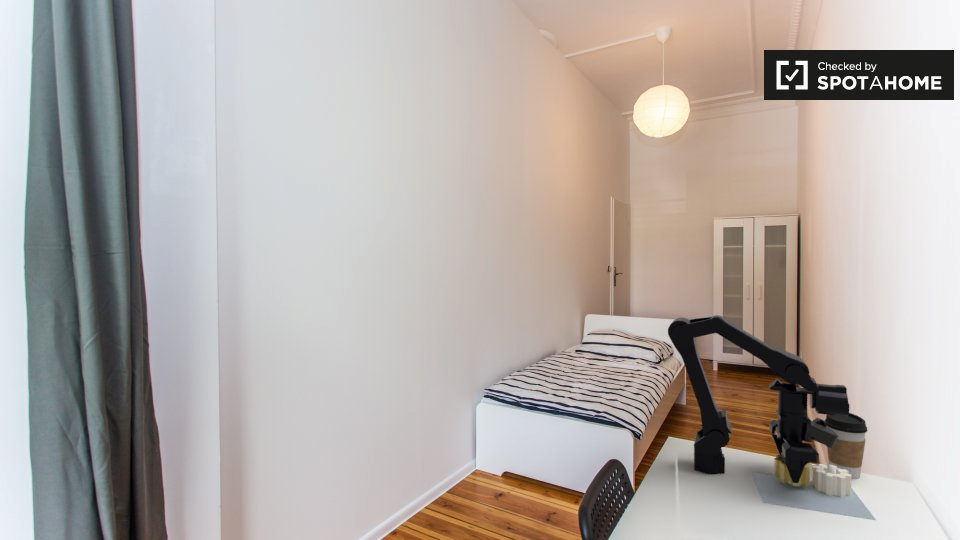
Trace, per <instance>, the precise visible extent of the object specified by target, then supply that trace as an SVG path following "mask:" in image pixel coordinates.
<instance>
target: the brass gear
mask: <svg viewBox="0 0 960 540" xmlns="http://www.w3.org/2000/svg"><path fill="white" fill-rule="evenodd" d="M773 462H774V463H773V467H774V469H773V471H774V472H773V475H774V477H775V478H779V479H780V482H782V483H788V484H792V485H793V486H798V485H804V486H808V485H809V483H810V480H811V463H808V464H806V465H805V467H804V470H803V472H802V475H801V477H800V480H799V483H793V482H792V479H791V477H790V474H789V472H788V469H787V467H786V464H785V461H784V459H783V456H781V455H780V454H776V455H775V457H774V461H773Z"/></svg>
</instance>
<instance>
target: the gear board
mask: <svg viewBox="0 0 960 540" xmlns="http://www.w3.org/2000/svg"><path fill="white" fill-rule="evenodd" d="M827 472H828V473H832V474H836V466H834V465H830V464H829V463H828V464H827ZM751 475H752V477H753V479H754V482H755V485H756V487H757V490H758V492H759V495H760V498H761V500H762V503H763V504H768V505H769V504H770V505H776V506H781V507H789V508H795V509H802V510H807V511H813V512H820V513H827V514H833V515H840V516H847V517H852V518H853V517H854V518H858V519H860V518H861V519H865V520H872V521H876V518H875V516H874V515H873V514H872V513H871V511H870V510H869V509H868V507H867V506H866V505H865V504H864V502H863V501H862V500H861V498H860V497H859V495H858V494H856V492H855V490H853V488H852V487H851V495H850V496H849V495H846V497H845V498H841V497H839V496H835V495H832V496H829V495H826V493H824V492H822V491H817V490H816V489H815V486H813V480H811V479H810V483H809V485H808V486H804V485H798V486H793V485H792V484H788V483H782V482H780V479H779V478H775V477H774V474H773V475H772V474H765V473H758V472H751Z"/></svg>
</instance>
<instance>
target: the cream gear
mask: <svg viewBox="0 0 960 540" xmlns="http://www.w3.org/2000/svg"><path fill="white" fill-rule="evenodd" d="M827 465H828V464H827ZM827 465H826V464H824V463H817V465H813V466H812V481H813V486H815V489H816V490H817V491H822V492H824V493H826V495H829V496H832V495H835V496H839V497H841V498H845V497H846V495H849V496H850V495H851V488H852V479H851V475H850V474H849V471H847V470H845V469H840V468H837V466H836V474H832V473H828V472H827Z"/></svg>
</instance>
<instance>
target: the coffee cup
mask: <svg viewBox="0 0 960 540" xmlns="http://www.w3.org/2000/svg"><path fill="white" fill-rule="evenodd" d="M825 415H826V414H825ZM824 421H825V422H826V426H827V428H828V427H829V428H830V429H831V430H833V431H834V432H835V433H836V434H837V435H838V438H837V440H836V442H835V444H834V446H833V448H829V447H827V446H826V447H827V458H828V465H829V464H830V465H834V466H837V468H840V469H845V470H847V471H849V474H850V475H851V480H859V479H860V478H861V473H862V466H863V459H864V453H865V445H866V433H868V427H867V423H866V420H865V419H864V418H862V417H860V416H858V415H856V414H854V413H852V412H849V415H848V417H843V416H834V415H826V416H825V419H824Z"/></svg>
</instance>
